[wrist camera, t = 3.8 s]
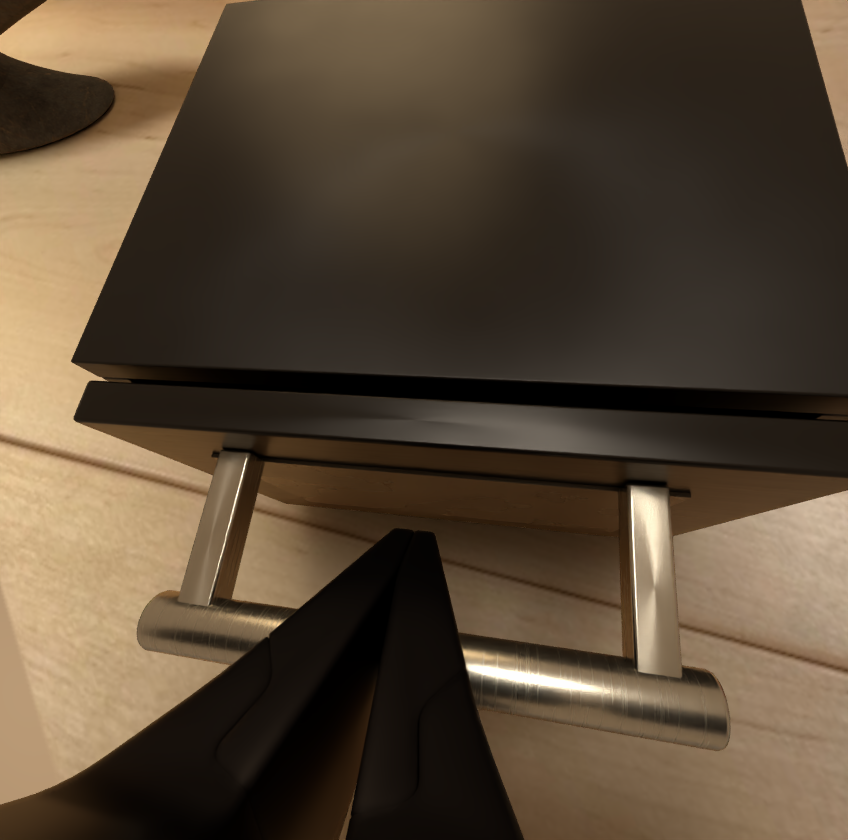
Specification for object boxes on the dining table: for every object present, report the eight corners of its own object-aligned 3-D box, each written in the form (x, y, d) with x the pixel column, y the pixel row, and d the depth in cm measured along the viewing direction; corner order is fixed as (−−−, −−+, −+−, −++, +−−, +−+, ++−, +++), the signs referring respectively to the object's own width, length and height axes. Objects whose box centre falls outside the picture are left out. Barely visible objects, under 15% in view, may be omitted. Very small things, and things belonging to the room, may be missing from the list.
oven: (646, 516, 19) (914, 399, 7) (303, 484, 22) (69, 361, 10) (633, 271, 23) (784, -64, 11) (348, 270, 26) (225, 3, 14)
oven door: (663, 672, 15) (981, 836, 5) (260, 611, 18) (-24, 646, 8) (654, 515, 17) (878, 420, 7) (289, 481, 20) (87, 378, 10)
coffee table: (-57, 171, 36) (-233, 39, 27) (-26, 101, 39) (-175, -38, 30) (228, 110, 33) (135, -58, 25) (237, 40, 36) (156, -131, 28)
